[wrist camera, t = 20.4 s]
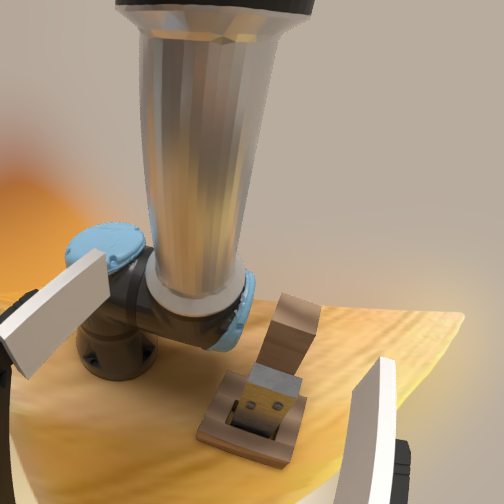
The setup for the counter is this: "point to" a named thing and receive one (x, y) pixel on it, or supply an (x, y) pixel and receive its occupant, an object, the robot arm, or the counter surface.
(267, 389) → the grey metal block
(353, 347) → the counter surface
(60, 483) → the counter surface
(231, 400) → the wooden post with frame
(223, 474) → the counter surface
